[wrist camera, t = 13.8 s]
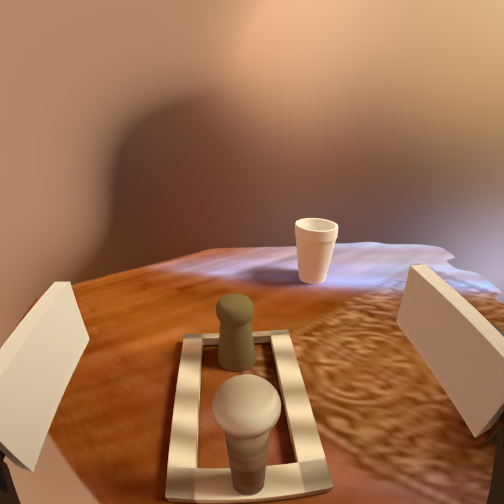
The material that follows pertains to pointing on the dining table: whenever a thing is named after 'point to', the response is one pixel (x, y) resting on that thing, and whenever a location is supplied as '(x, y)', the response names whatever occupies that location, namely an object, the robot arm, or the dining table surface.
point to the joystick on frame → (245, 431)
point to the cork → (235, 333)
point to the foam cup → (314, 248)
